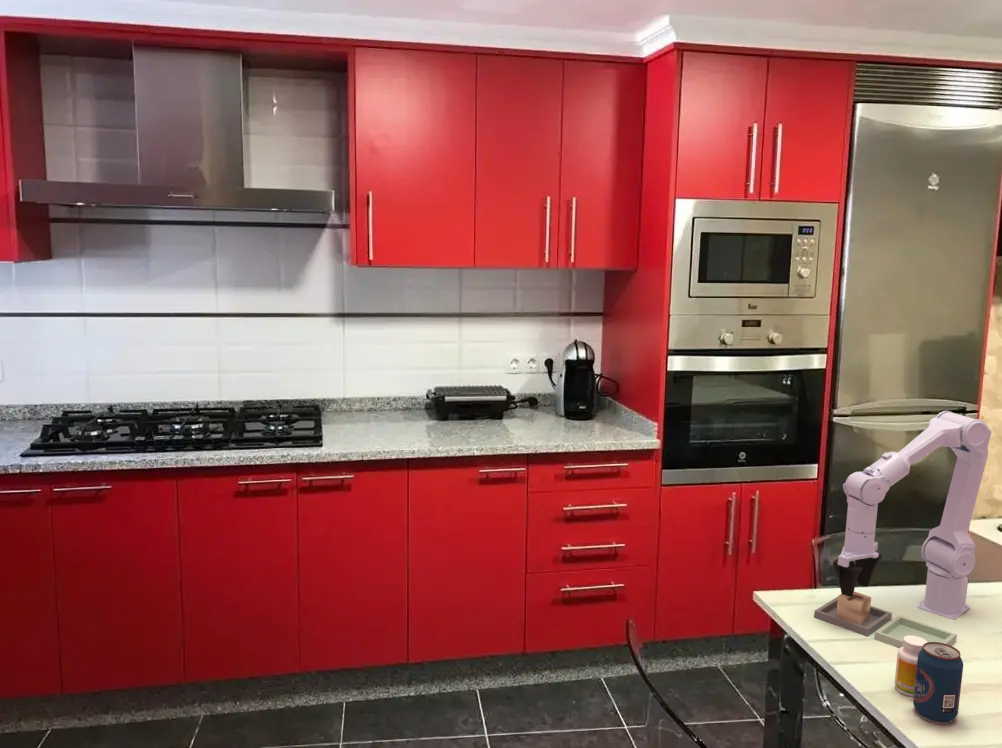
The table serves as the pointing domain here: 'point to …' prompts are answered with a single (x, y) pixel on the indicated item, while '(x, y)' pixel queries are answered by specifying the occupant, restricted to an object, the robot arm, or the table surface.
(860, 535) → the robot arm
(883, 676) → the table surface
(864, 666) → the table surface
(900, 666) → the supplement bottle
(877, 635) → the sage tray
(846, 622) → the charcoal tray
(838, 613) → the letter cube
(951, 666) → the soda can
